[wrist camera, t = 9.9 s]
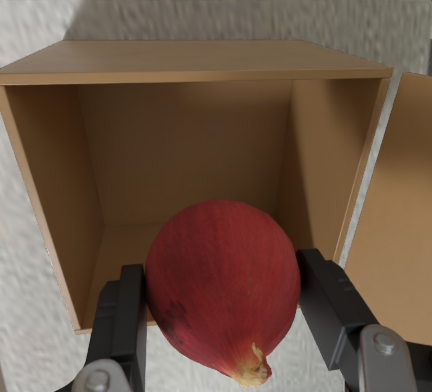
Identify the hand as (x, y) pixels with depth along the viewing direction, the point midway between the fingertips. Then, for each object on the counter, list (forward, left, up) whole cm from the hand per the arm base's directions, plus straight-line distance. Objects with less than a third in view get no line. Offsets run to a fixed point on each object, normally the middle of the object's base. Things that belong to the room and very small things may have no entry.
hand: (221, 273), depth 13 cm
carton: (0, 0, -13) cm, 13 cm away
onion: (0, 0, -4) cm, 4 cm away
